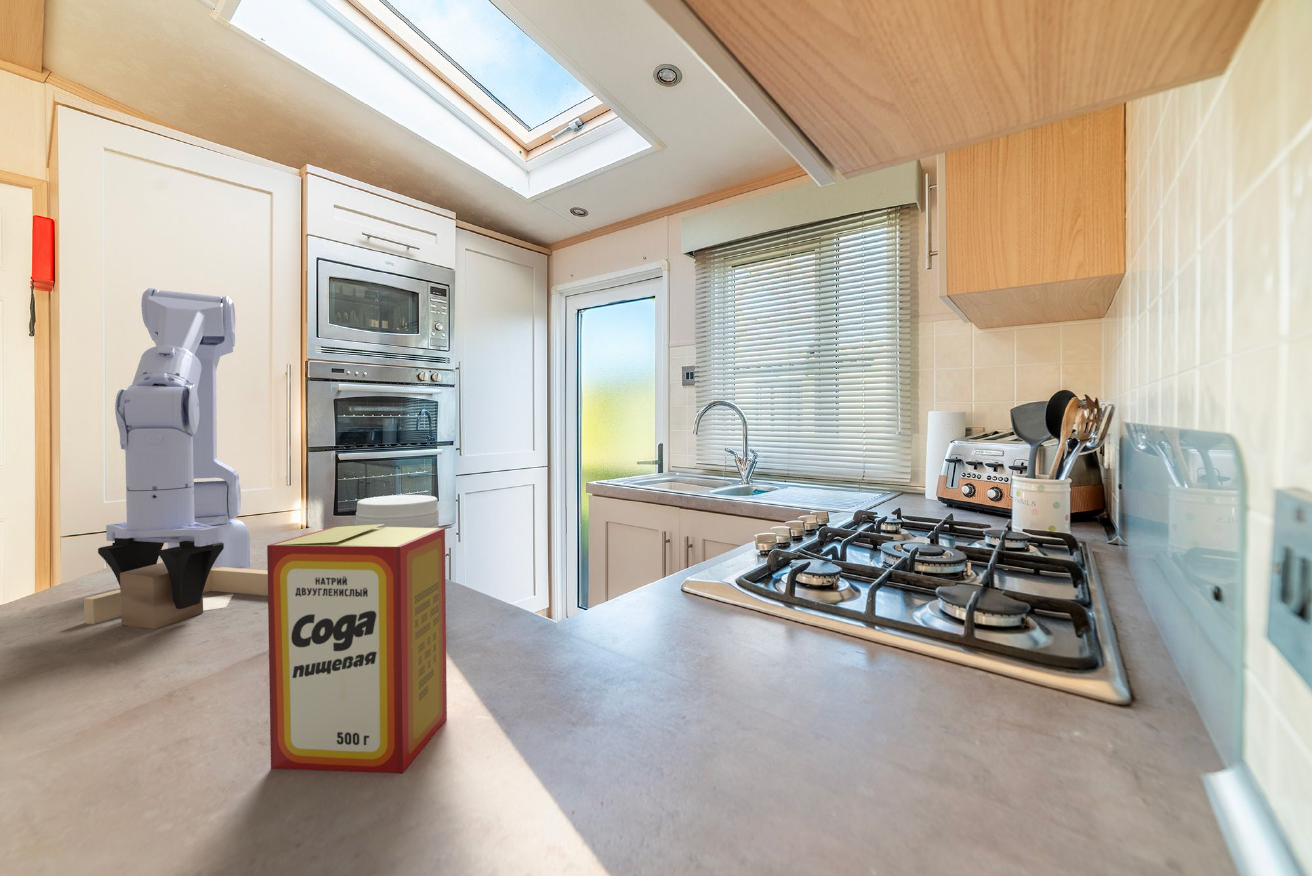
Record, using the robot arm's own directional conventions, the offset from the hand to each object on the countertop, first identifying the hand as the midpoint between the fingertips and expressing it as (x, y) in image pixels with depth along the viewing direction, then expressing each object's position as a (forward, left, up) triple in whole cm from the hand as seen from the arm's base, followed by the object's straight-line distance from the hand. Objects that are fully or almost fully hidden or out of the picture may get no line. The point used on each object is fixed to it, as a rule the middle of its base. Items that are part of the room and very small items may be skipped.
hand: (163, 603), depth 60 cm
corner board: (-4, +2, -3) cm, 5 cm away
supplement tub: (-11, +23, -3) cm, 26 cm away
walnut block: (0, 0, -2) cm, 2 cm away
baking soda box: (+13, +40, -3) cm, 42 cm away
